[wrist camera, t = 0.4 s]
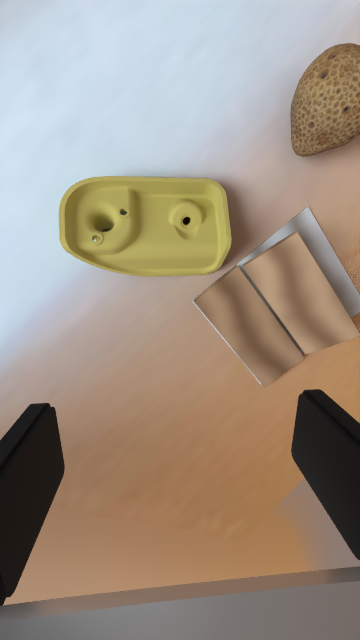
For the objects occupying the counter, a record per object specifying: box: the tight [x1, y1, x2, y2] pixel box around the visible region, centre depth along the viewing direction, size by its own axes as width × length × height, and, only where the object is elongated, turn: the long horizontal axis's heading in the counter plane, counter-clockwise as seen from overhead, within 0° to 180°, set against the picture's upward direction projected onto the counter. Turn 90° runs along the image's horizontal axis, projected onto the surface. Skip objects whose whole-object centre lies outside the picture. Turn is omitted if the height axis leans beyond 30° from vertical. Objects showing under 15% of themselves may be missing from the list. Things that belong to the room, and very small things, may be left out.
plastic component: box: [59, 176, 232, 276], centre depth 33 cm, size 20×7×10 cm
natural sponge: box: [291, 43, 360, 156], centre depth 28 cm, size 9×9×10 cm
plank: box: [243, 230, 360, 354], centre depth 37 cm, size 8×18×1 cm, turn 39°
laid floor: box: [192, 207, 360, 387], centre depth 39 cm, size 21×19×1 cm
